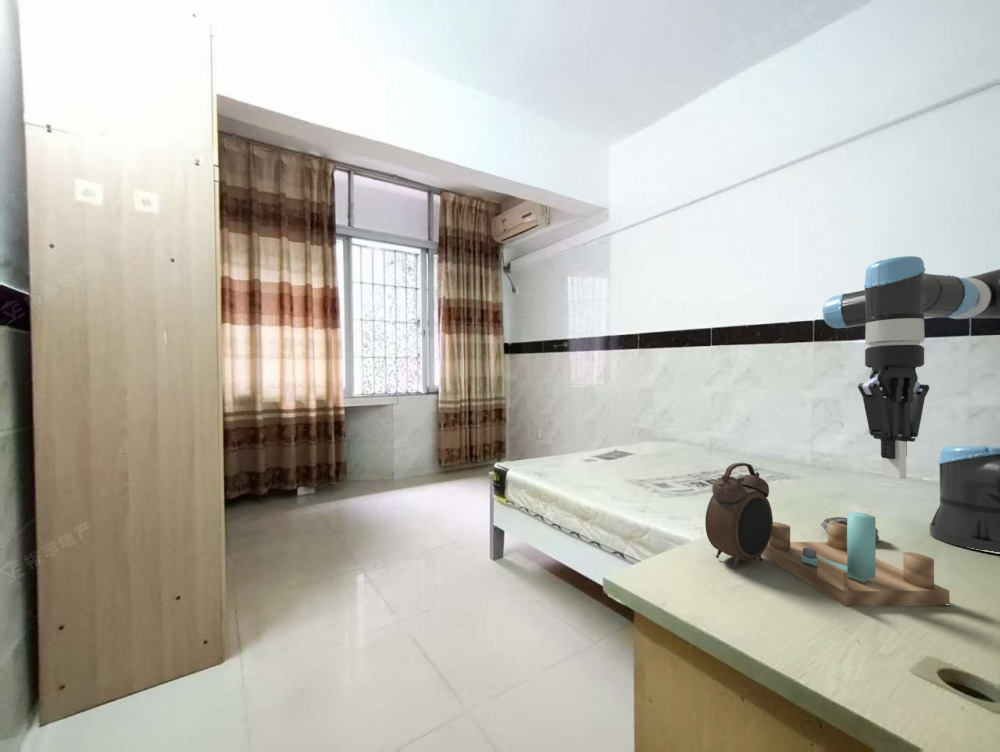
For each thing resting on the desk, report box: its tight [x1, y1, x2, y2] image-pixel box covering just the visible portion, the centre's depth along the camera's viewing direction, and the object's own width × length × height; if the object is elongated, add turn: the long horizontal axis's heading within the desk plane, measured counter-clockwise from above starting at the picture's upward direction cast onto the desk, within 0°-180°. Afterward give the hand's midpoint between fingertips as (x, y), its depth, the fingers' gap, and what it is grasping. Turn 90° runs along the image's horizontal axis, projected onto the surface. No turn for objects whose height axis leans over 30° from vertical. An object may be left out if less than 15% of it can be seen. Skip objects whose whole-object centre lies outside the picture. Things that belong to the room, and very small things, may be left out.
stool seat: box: [761, 521, 951, 608], centre depth 75 cm, size 18×20×7 cm
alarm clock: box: [704, 462, 774, 569], centre depth 80 cm, size 14×7×20 cm, turn 117°
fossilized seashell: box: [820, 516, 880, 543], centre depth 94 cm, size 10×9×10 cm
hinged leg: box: [802, 511, 876, 582], centre depth 71 cm, size 4×10×11 cm, turn 30°
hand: (893, 476), depth 70 cm, fingers closed
